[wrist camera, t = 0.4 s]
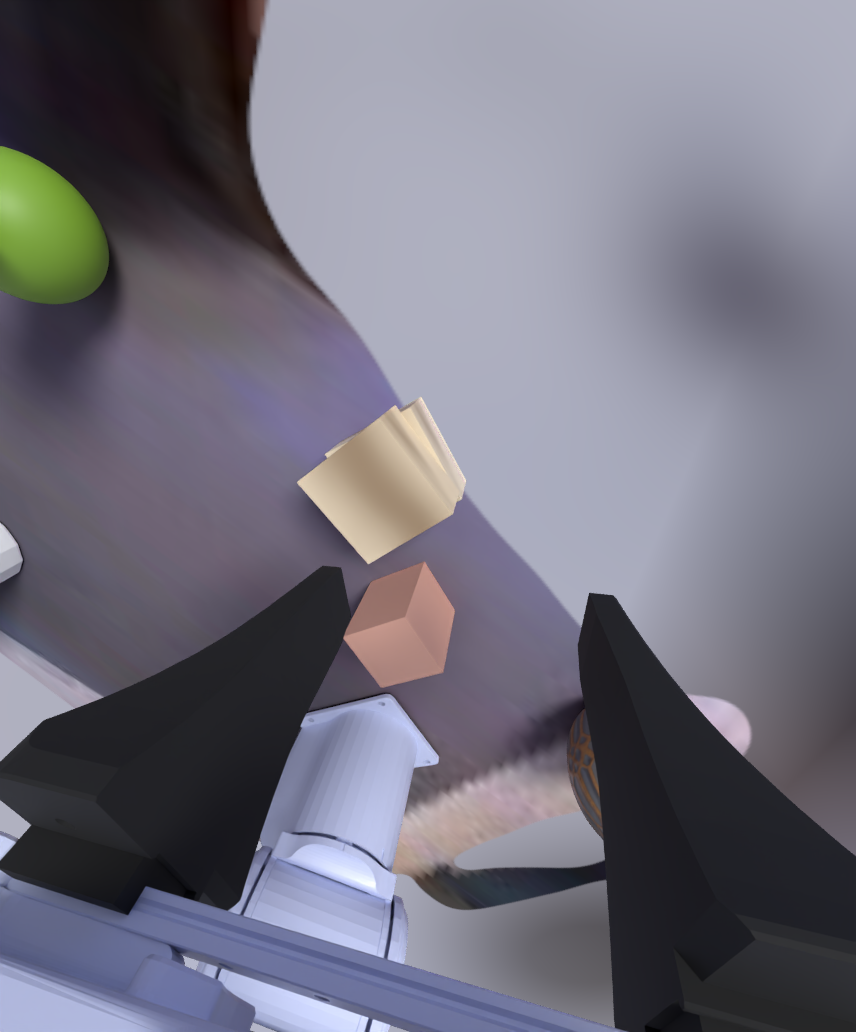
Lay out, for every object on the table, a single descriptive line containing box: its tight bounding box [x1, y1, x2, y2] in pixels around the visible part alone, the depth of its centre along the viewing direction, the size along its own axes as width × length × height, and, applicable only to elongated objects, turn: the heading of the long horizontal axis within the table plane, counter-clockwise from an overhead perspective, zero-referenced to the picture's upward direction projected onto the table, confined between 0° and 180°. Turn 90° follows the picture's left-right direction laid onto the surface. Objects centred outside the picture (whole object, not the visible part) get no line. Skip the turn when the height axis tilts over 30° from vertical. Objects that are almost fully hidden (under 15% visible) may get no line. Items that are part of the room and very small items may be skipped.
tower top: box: [297, 405, 459, 564], centre depth 19 cm, size 5×5×2 cm
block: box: [343, 562, 455, 688], centre depth 23 cm, size 4×4×5 cm
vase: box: [567, 709, 603, 839], centre depth 23 cm, size 7×7×9 cm
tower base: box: [325, 397, 466, 502], centre depth 21 cm, size 5×5×2 cm
